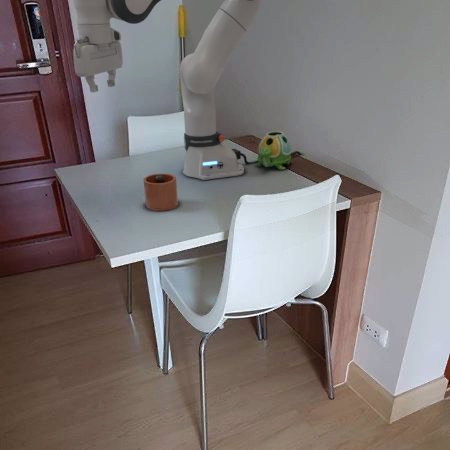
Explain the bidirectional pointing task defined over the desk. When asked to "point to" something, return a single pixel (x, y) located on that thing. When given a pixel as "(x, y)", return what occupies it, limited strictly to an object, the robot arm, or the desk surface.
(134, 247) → the desk surface
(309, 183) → the desk surface
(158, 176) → the pestle
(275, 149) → the turtle holder
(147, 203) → the cup
